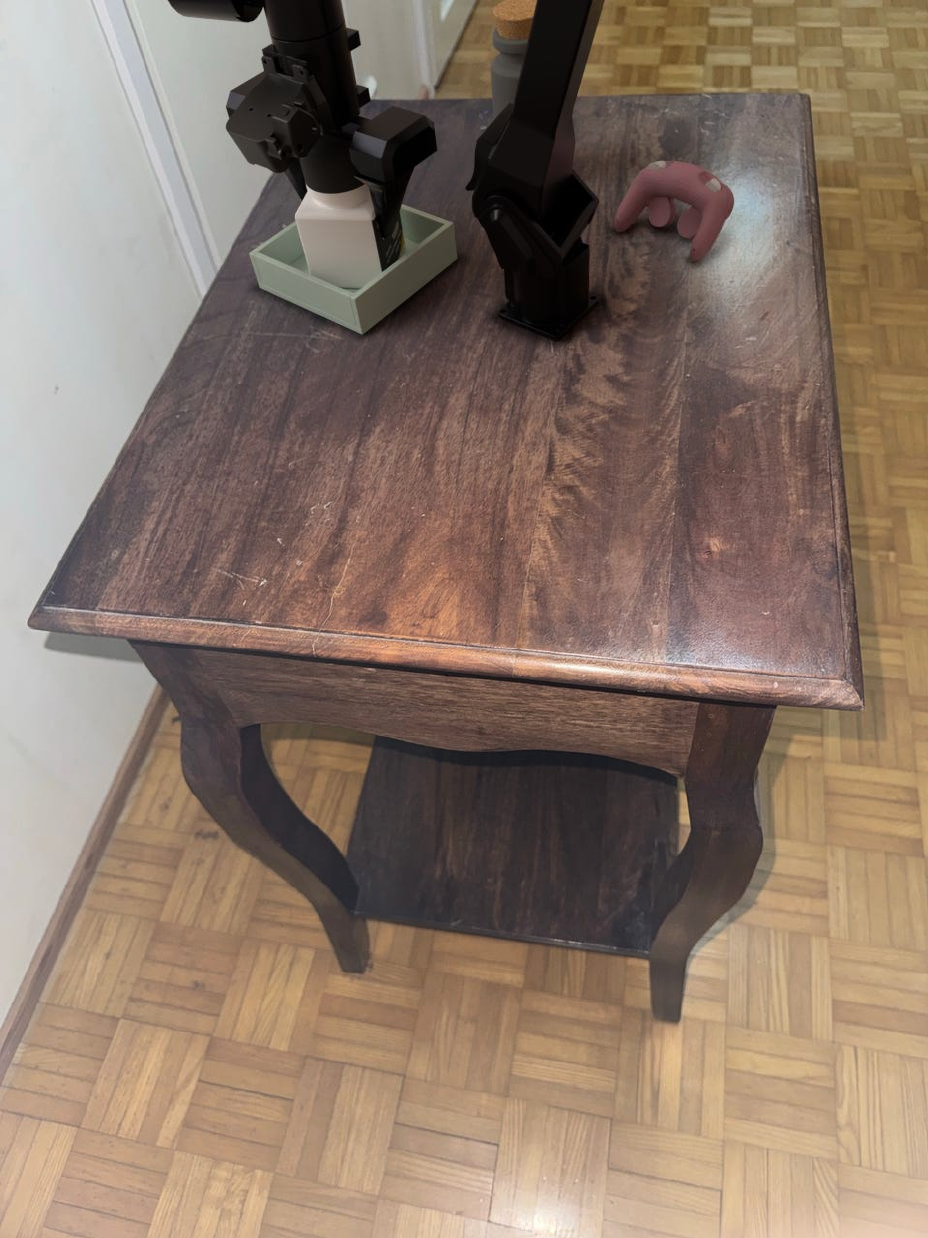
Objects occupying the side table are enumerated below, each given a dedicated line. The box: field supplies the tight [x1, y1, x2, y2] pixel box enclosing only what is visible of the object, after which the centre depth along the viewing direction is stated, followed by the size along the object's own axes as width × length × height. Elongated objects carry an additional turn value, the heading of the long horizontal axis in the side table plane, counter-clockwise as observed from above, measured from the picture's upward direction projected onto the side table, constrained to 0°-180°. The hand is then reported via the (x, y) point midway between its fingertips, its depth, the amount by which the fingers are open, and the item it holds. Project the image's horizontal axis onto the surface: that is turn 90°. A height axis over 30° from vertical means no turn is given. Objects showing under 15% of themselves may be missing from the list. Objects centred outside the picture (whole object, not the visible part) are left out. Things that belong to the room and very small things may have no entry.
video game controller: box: [613, 160, 735, 263], centre depth 81 cm, size 10×5×7 cm, turn 47°
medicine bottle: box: [294, 134, 405, 288], centre depth 79 cm, size 7×7×12 cm
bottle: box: [490, 0, 537, 119], centre depth 86 cm, size 6×6×15 cm
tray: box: [248, 203, 458, 336], centre depth 83 cm, size 13×13×4 cm
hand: (349, 221), depth 80 cm, fingers closed on medicine bottle, 9 cm apart
